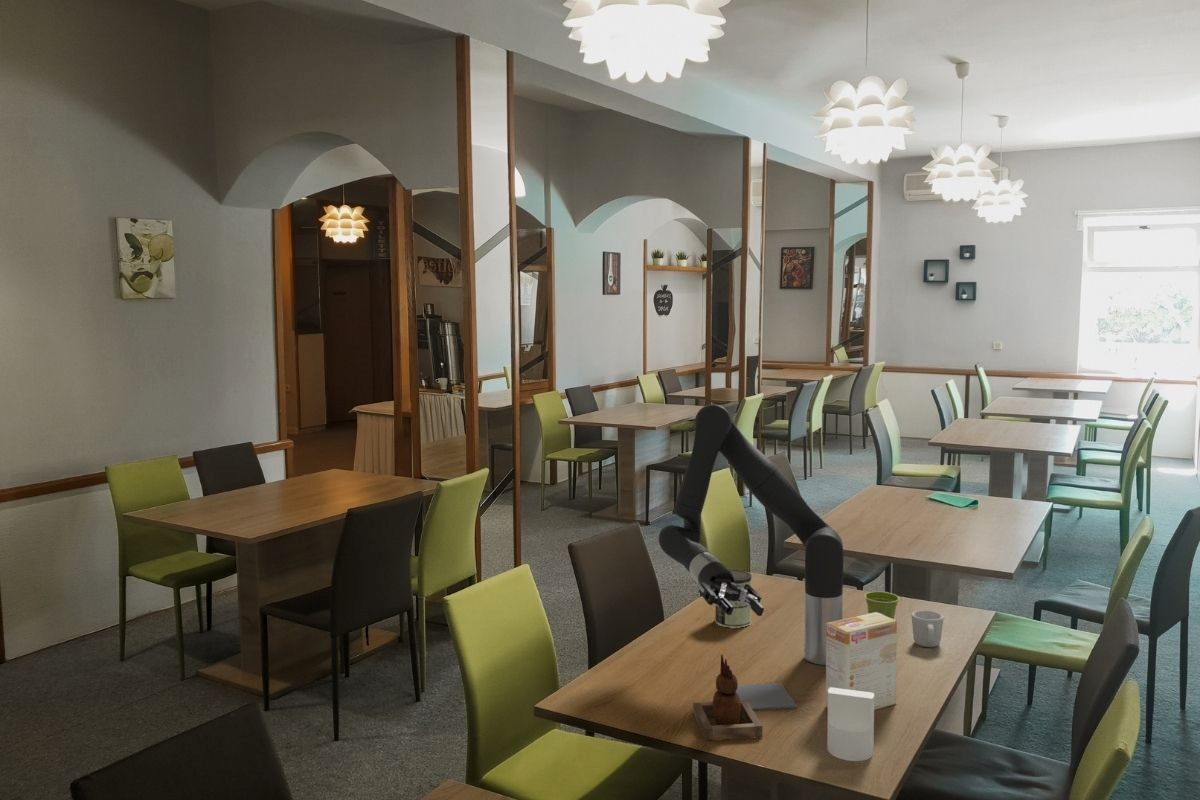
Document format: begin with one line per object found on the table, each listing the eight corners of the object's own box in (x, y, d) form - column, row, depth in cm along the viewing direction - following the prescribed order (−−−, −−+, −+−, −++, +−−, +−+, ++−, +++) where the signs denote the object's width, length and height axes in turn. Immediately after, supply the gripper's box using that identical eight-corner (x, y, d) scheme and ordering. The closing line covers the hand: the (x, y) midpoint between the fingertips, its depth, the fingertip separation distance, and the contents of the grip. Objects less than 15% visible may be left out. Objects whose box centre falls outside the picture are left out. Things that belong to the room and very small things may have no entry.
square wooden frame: (746, 710, 204) (746, 699, 203) (762, 737, 191) (762, 726, 191) (693, 713, 203) (693, 702, 202) (705, 740, 190) (705, 729, 189)
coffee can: (708, 624, 261) (708, 575, 259) (725, 614, 269) (725, 567, 268) (741, 631, 255) (741, 581, 253) (757, 620, 263) (757, 572, 262)
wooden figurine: (710, 719, 200) (710, 652, 198) (736, 717, 200) (736, 651, 199) (716, 733, 193) (716, 664, 192) (743, 731, 194) (743, 663, 192)
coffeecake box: (874, 693, 212) (875, 611, 210) (897, 704, 206) (898, 620, 204) (824, 706, 205) (824, 621, 204) (846, 718, 199) (847, 631, 197)
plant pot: (902, 624, 258) (903, 594, 257) (893, 634, 250) (894, 603, 249) (869, 619, 263) (869, 589, 262) (859, 628, 255) (860, 598, 254)
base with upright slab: (824, 756, 182) (825, 698, 181) (830, 737, 191) (830, 681, 190) (871, 764, 179) (872, 704, 178) (875, 743, 187) (875, 687, 186)
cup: (947, 654, 235) (947, 624, 234) (914, 652, 237) (915, 622, 236) (940, 639, 246) (940, 610, 245) (909, 638, 247) (909, 609, 247)
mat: (780, 684, 218) (780, 682, 218) (797, 708, 205) (797, 705, 205) (726, 687, 216) (726, 685, 216) (739, 711, 204) (739, 709, 203)
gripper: (691, 559, 216) (726, 596, 202) (739, 562, 223) (777, 598, 209) (681, 586, 218) (715, 626, 204) (730, 589, 225) (766, 627, 211)
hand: (746, 612), depth 207 cm, fingers open, 8 cm apart
